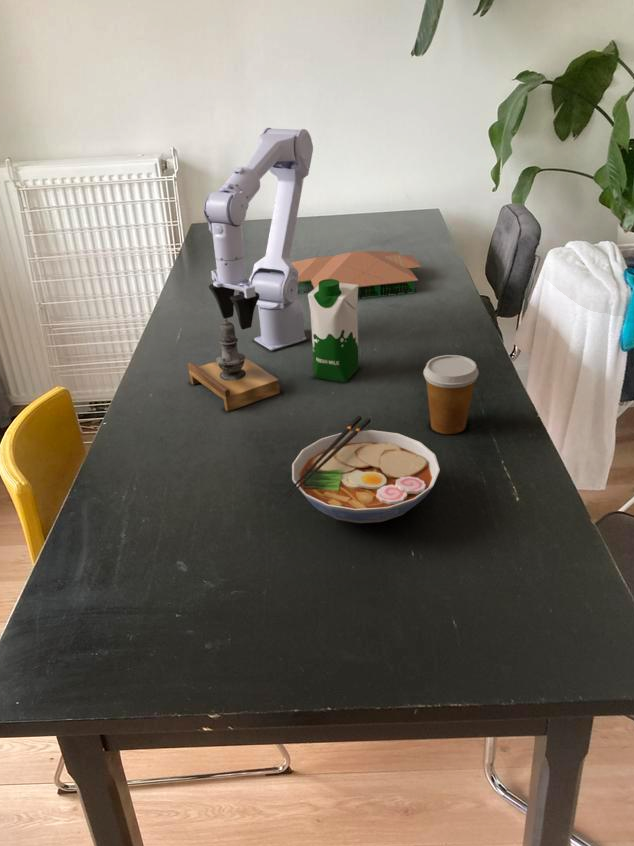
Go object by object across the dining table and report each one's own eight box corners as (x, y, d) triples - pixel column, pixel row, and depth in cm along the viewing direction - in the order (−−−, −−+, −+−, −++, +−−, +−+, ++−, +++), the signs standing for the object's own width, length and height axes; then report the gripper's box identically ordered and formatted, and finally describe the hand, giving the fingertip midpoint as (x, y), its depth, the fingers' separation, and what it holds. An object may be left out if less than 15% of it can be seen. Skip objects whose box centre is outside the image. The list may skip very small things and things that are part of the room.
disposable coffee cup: (478, 416, 149) (483, 356, 142) (470, 441, 142) (474, 380, 135) (427, 410, 152) (429, 351, 145) (416, 435, 145) (418, 374, 138)
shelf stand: (240, 366, 173) (238, 347, 170) (279, 393, 162) (278, 372, 159) (190, 383, 168) (187, 363, 165) (227, 411, 157) (224, 390, 154)
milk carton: (308, 379, 166) (302, 284, 154) (326, 361, 172) (321, 269, 161) (348, 385, 162) (345, 289, 151) (364, 366, 169) (362, 272, 157)
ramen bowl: (394, 572, 114) (394, 526, 110) (262, 528, 125) (257, 484, 120) (464, 485, 131) (467, 441, 126) (342, 452, 142) (340, 411, 137)
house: (428, 291, 201) (429, 259, 197) (298, 306, 199) (296, 273, 194) (407, 262, 220) (407, 232, 215) (287, 275, 218) (285, 244, 213)
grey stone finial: (243, 381, 160) (236, 324, 153) (214, 380, 161) (206, 324, 154) (250, 368, 165) (244, 312, 158) (222, 367, 166) (215, 312, 159)
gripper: (195, 252, 161) (203, 317, 169) (229, 270, 151) (237, 338, 159) (225, 245, 164) (232, 309, 172) (262, 261, 154) (267, 329, 162)
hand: (237, 322), depth 166 cm, fingers open, 7 cm apart
